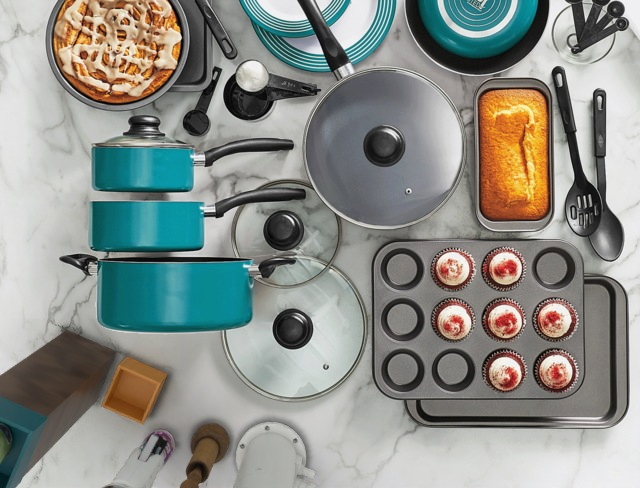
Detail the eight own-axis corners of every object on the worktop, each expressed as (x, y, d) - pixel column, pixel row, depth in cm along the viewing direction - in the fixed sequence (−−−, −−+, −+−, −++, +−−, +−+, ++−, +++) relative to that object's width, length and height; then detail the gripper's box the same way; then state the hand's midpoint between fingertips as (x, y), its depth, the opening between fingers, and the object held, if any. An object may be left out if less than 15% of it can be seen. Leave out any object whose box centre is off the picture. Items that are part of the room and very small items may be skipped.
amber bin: (167, 374, 122) (160, 383, 118) (150, 414, 122) (142, 425, 118) (127, 356, 122) (118, 364, 118) (110, 396, 122) (100, 406, 118)
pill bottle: (181, 438, 122) (164, 464, 112) (166, 463, 122) (148, 491, 112) (155, 422, 122) (136, 447, 112) (140, 447, 122) (121, 474, 113)
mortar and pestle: (225, 462, 122) (203, 519, 104) (190, 455, 122) (162, 510, 104) (232, 426, 122) (211, 477, 104) (197, 419, 122) (170, 469, 104)
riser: (117, 351, 122) (46, 416, 94) (95, 401, 123) (19, 481, 95) (66, 329, 122) (-19, 387, 94) (45, 379, 123) (-46, 452, 95)
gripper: (113, 576, 99) (152, 508, 117) (158, 471, 99) (191, 419, 117) (67, 555, 100) (113, 490, 118) (111, 450, 99) (152, 401, 117)
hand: (152, 455), depth 117 cm, fingers closed on pill bottle, 5 cm apart
